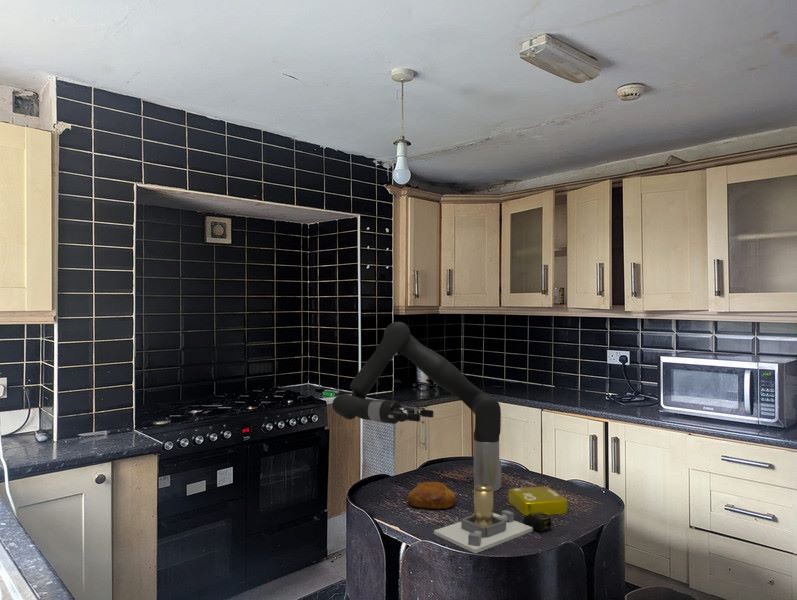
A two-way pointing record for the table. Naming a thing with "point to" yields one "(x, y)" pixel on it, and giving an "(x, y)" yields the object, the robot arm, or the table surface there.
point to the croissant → (431, 496)
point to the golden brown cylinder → (483, 505)
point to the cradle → (483, 532)
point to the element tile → (537, 500)
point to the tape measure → (538, 521)
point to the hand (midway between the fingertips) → (426, 416)
